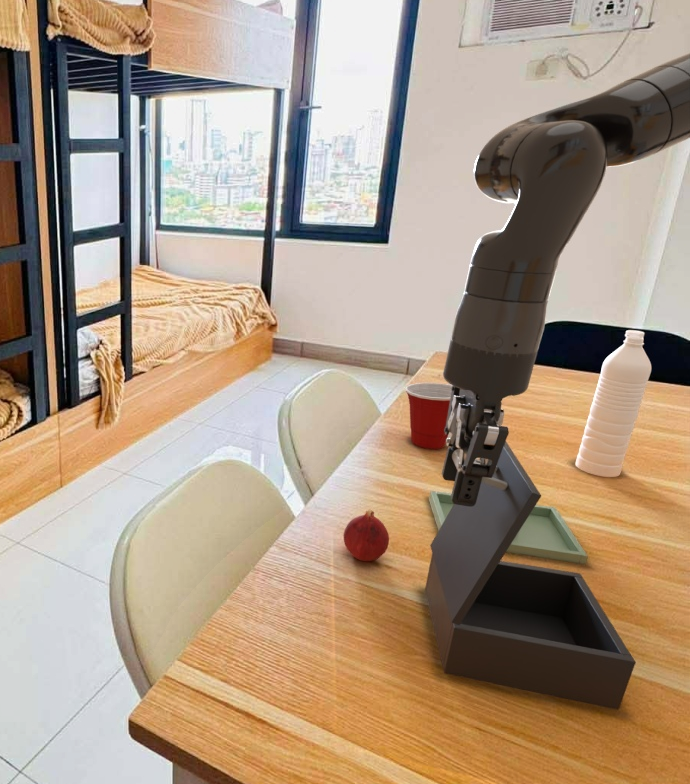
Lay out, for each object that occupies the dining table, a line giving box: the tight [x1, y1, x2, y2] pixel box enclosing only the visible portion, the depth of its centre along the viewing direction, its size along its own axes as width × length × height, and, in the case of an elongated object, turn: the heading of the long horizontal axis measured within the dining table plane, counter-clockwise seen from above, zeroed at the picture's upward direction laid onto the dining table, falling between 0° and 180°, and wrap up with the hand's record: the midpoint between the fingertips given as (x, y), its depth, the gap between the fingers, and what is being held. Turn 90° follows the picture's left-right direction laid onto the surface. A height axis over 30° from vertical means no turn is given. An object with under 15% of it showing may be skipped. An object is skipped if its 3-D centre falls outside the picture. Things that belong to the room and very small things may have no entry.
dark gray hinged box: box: [424, 552, 636, 710], centre depth 71 cm, size 16×15×7 cm
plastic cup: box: [404, 382, 453, 450], centre depth 122 cm, size 11×11×12 cm
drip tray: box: [428, 490, 589, 565], centre depth 94 cm, size 18×14×2 cm
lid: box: [430, 440, 542, 625], centre depth 69 cm, size 17×15×5 cm
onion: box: [342, 509, 390, 562], centre depth 87 cm, size 6×6×8 cm
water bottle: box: [574, 329, 652, 478], centre depth 110 cm, size 9×6×25 cm
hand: (457, 490), depth 68 cm, fingers closed on lid, 5 cm apart
